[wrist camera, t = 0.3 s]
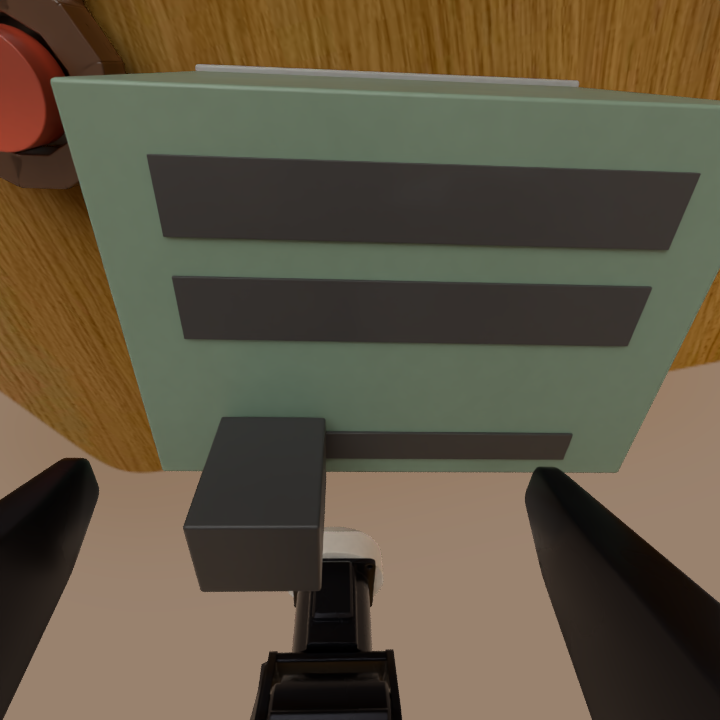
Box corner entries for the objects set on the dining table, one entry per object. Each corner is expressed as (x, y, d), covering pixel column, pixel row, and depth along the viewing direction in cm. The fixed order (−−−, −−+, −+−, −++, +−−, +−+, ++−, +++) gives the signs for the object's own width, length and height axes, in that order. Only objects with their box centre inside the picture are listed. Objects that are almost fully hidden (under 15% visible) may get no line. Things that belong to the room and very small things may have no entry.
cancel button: (86, 146, 17) (61, 154, 15) (-15, 143, 16) (-50, 150, 15) (53, 25, 15) (21, 21, 13) (-61, 20, 14) (-107, 14, 13)
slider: (326, 478, 13) (321, 592, 11) (231, 477, 13) (199, 593, 10) (325, 416, 12) (320, 527, 9) (221, 415, 12) (181, 528, 9)
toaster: (513, 315, 23) (624, 480, 14) (232, 310, 23) (155, 479, 13) (572, 80, 18) (822, 96, 8) (200, 64, 17) (27, 63, 8)
